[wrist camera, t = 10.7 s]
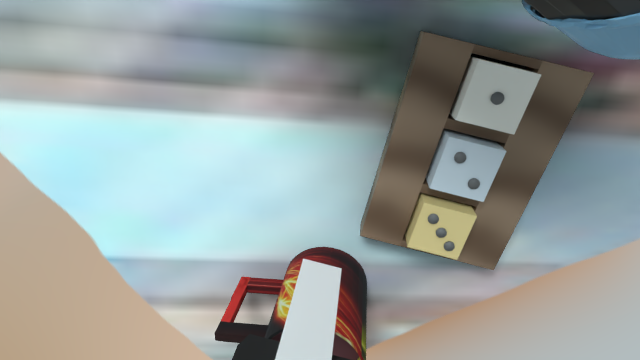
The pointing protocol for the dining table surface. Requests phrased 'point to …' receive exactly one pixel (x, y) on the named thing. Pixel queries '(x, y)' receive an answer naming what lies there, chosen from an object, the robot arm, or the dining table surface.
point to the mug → (349, 306)
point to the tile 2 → (493, 95)
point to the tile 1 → (439, 225)
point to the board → (433, 116)
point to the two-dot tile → (464, 165)
